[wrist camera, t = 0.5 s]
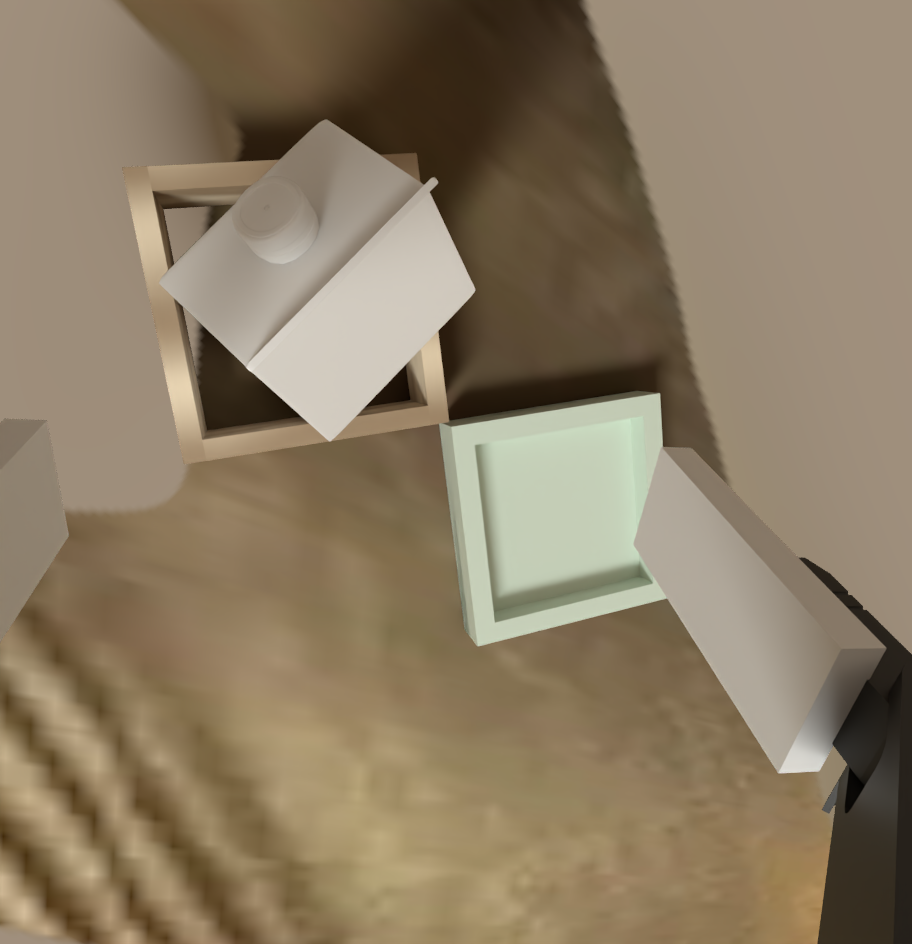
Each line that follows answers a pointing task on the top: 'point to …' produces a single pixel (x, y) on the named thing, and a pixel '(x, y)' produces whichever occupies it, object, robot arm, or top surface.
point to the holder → (147, 201)
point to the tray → (551, 511)
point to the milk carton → (325, 276)
